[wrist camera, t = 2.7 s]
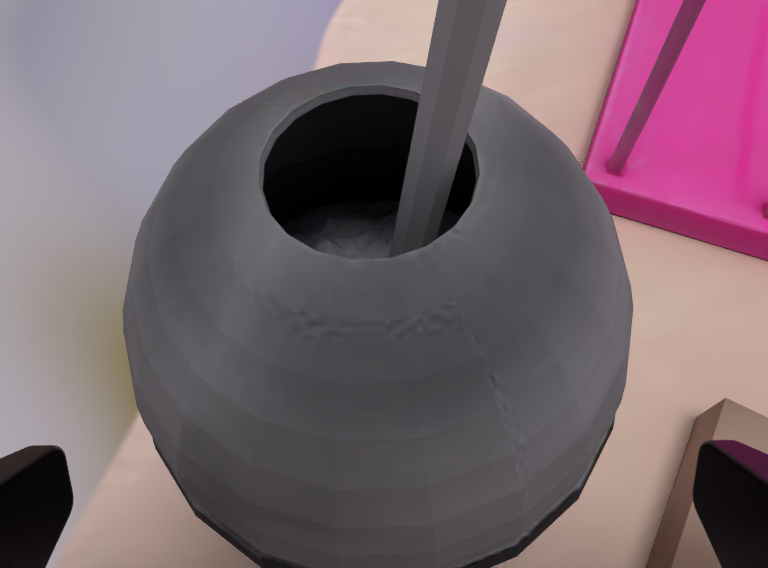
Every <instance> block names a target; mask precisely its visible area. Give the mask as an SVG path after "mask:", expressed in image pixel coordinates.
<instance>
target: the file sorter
mask: <svg viewBox="0 0 768 568" xmlns="http://www.w3.org/2000/svg"><path fill="white" fill-rule="evenodd" d="M583 170H584V171H585V173H586V174H587V176H588V177H589V179H590V180H591V182H592V183H593V185H594V186H595V188H596V189H597V191H598V192H599V194H600V195H601V197H602V198H603V200H604V202H605V204H606V206H607V208H608V210H609V212H610V213H612V214H615V215H619V216H622V217H626V218H629V219H632V220H636V221H639V222H642V223H646V224H649V225H652V226H656V227H659V228H663V229H666V230H669V231H673V232H676V233H679V234H683V235H686V236H689V237H692V238H696V239H699V240H702V241H705V242H709V243H712V244H715V245H718V246H722V247H725V248H728V249H732V250H735V251H739V252H742V253H745V254H749V255H752V256H756V257H759V258H762V259H765V260H768V0H637V1H636V4H635V7H634V10H633V13H632V17H631V20H630V23H629V26H628V29H627V32H626V35H625V38H624V42H623V45H622V48H621V51H620V54H619V57H618V60H617V63H616V66H615V70H614V73H613V76H612V79H611V82H610V85H609V88H608V91H607V94H606V97H605V100H604V103H603V106H602V110H601V113H600V116H599V119H598V122H597V125H596V128H595V131H594V135H593V138H592V141H591V144H590V147H589V150H588V153H587V156H586V160H585V163H584V166H583Z"/></svg>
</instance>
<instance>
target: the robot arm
mask: <svg viewBox="0 0 768 568" xmlns="http://www.w3.org/2000/svg"><path fill="white" fill-rule="evenodd" d="M692 497H693V503H694V507H695V510H696V512H697V514H698V516H699V519H700V521H701V523H702V525H703V528H704V530H705V532H706V534H707V537H708V539H709V541H710V543H711V545H712V548H713V550H714V552H715V554H716V557H717V559H718V561H719V563H720V565H721V568H768V454H766V453H764V452H762V451H759V450H757V449H755V448H752V447H750V446H748V445H745V444H743V443H741V442H738V441H736V440H706V441H704V442H703V443H702V444H701V446H700V447H699V451H698V457H697V463H696V470H695V476H694V483H693V491H692ZM72 507H73V491H72V486H71V481H70V476H69V471H68V466H67V461H66V456H65V453H64V451H63V450H62V449H61V448H60V447H59V446H53V445H48V446H47V445H46V446H45V445H43V446H29V447H26V448H24V449H21V450H19V451H17V452H14V453H12V454H10V455H7V456H5V457H3V458H0V568H45V567H46V565H47V563H48V561H49V559H50V557H51V555H52V552H53V550H54V548H55V546H56V543H57V541H58V539H59V537H60V535H61V533H62V531H63V529H64V527H65V524H66V522H67V520H68V518H69V516H70V513H71V510H72Z"/></svg>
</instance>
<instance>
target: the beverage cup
mask: <svg viewBox="0 0 768 568" xmlns="http://www.w3.org/2000/svg"><path fill="white" fill-rule="evenodd" d="M506 1H507V0H439V2H438V7H437V12H436V17H435V22H434V28H433V33H432V38H431V43H430V48H429V53H428V59H427V64H426V67H422V66H417V65H411V64H406V63H400V62H394V61H386V62H364V63H341V64H336V65H333V66H329V67H325V68H322V69H318V70H315V71H311V72H307V73H304V74H300V75H296V76H293V77H289V78H286V79H284V80H281V81H279V82H277V83H275V84H274V85H272V86H270V87H268V88H266V89H264V90H263V91H261V92H259V93H257V94H255V95H254V96H252V97H250V98H248V99H246V100H244V101H243V102H241V103H239V104H237V105H235V106H234V107H232V108H230V109H228V110H227V111H226V112H225V113H224V114H223V115H222V116H221V117H220V118H219V119H218V120H217V121H216V122H215V123H213V124H212V125H211V126H210V127H209V128H208V129H207V130H206V131H205V132H204V133H203V134H202V135H201V136H200V137H199V138H198V139H197V140H196V141H195V142H194V143H193V144H192V145H191V146H190V147H188V149H186V150H185V152H184V153H183V154H182V155H181V157H180V158H179V159H178V160H177V161H176V163H175V164H174V165H173V167H172V169H171V171H170V172H169V174H168V176H167V178H166V180H165V181H164V183H163V185H162V187H161V188H160V190H159V192H158V194H157V195H156V197H155V199H154V201H153V202H152V204H151V206H150V208H149V209H148V211H147V213H146V215H145V217H144V218H143V220H142V223H141V226H140V229H139V232H138V235H137V238H136V241H135V247H134V252H133V258H132V264H131V269H130V274H129V280H128V285H127V290H126V295H125V301H124V306H123V327H124V328H123V329H124V336H125V342H126V348H127V354H128V359H129V365H130V371H131V376H132V382H133V387H134V393H135V399H136V405H137V407H138V410H139V412H140V414H141V417H142V419H143V422H144V424H145V425H146V427H147V429H148V430H149V432H150V434H151V435H152V438H153V441H154V444H155V448H156V450H157V452H158V453H159V455H160V457H161V458H162V460H163V462H164V463H165V465H166V467H167V468H168V470H169V472H170V473H171V475H172V477H173V478H174V480H175V482H176V483H177V485H178V487H179V488H180V490H181V492H182V493H183V495H184V497H185V498H186V500H187V502H188V503H189V505H190V507H191V508H192V510H193V512H194V513H195V515H196V516H197V517H198V518H199V519H201V520H202V521H203V522H204V523H206V524H207V525H208V526H209V527H211V528H212V529H213V530H214V531H216V532H217V533H218V534H220V535H221V536H222V537H223V538H225V539H226V540H227V541H228V542H230V543H231V544H232V545H233V546H235V547H236V548H237V549H238V550H240V551H241V552H242V553H244V554H245V555H246V556H247V557H249V558H250V559H251V560H252V561H254V562H255V563H256V564H257V565H259V566H260V567H261V568H490V567H493V566H495V565H498V564H500V563H502V562H505V561H507V560H510V559H512V558H514V557H517V556H518V555H519V554H520V553H521V552H522V551H523V550H524V549H525V548H526V547H527V546H529V545H530V544H531V543H532V542H533V541H534V540H535V539H536V538H537V537H538V536H539V535H540V534H541V533H542V532H543V531H545V530H546V529H547V528H548V527H549V526H550V525H551V524H552V523H553V522H554V521H555V520H556V519H557V518H558V517H560V516H561V515H562V514H563V513H564V512H565V511H566V510H567V509H568V508H569V507H570V506H571V505H572V504H573V503H574V502H576V501H577V500H578V498H579V496H580V494H581V492H582V490H583V488H584V486H585V484H586V482H587V480H588V478H589V476H590V474H591V472H592V470H593V468H594V466H595V464H596V462H597V460H598V458H599V456H600V454H601V452H602V450H603V448H604V446H605V444H606V442H607V440H608V438H609V436H610V434H611V432H612V430H613V425H614V420H615V413H616V411H617V409H618V407H619V405H620V403H621V400H622V396H623V392H624V388H625V384H626V376H627V366H628V356H629V346H630V335H631V325H632V315H633V302H632V293H631V285H630V281H629V278H628V274H627V270H626V266H625V263H624V259H623V255H622V251H621V247H620V244H619V240H618V236H617V232H616V228H615V225H614V221H613V218H612V216H611V214H610V212H609V210H608V208H607V206H606V204H605V202H604V200H603V198H602V197H601V195H600V194H599V192H598V191H597V189H596V188H595V186H594V185H593V183H592V182H591V180H590V179H589V177H588V176H587V174H586V173H585V171H584V170H583V168H582V167H581V165H580V164H579V163H578V161H577V160H576V158H575V157H574V155H573V154H572V152H571V151H570V149H569V148H568V147H567V146H566V145H565V144H564V143H563V142H562V141H561V140H560V139H559V138H558V137H557V136H556V135H555V134H554V133H553V132H551V131H550V130H549V129H548V128H546V127H545V126H544V125H543V124H541V123H540V122H539V121H538V120H536V119H535V118H534V117H533V116H532V115H530V114H529V113H528V112H527V111H525V110H524V109H523V108H522V107H520V106H519V105H518V104H517V103H515V102H514V101H513V100H512V99H511V98H509V97H508V96H505V95H503V94H501V93H499V92H496V91H494V90H492V89H490V88H487V87H485V86H483V85H482V82H483V79H484V75H485V72H486V69H487V65H488V62H489V59H490V55H491V52H492V48H493V45H494V42H495V38H496V35H497V32H498V28H499V25H500V21H501V18H502V15H503V11H504V8H505V5H506Z"/></svg>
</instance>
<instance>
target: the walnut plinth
mask: <svg viewBox="0 0 768 568" xmlns="http://www.w3.org/2000/svg"><path fill="white" fill-rule="evenodd" d="M706 440H736V441H738V442H741V443H743V444H745V445H748V446H750V447H752V448H755V449H757V450H759V451H762V452H764V453H766V454H768V418H767V417H765V416H763V415H761V414H759V413H756V412H754V411H752V410H750V409H748V408H746V407H744V406H742V405H739V404H737V403H735V402H733V401H731V400H729V399H727V398H725V399H723V400H722V401H720V402H719V403H717V404H716V405H714V406H713V407H711V408H710V409H708V410H707V411H705V412H704V413H702V414H701V415H699V416H698V417H697V419H696V422H695V425H694V428H693V431H692V434H691V437H690V440H689V442H688V445H687V448H686V451H685V454H684V457H683V460H682V463H681V466H680V469H679V472H678V475H677V478H676V481H675V484H674V487H673V490H672V493H671V496H670V499H669V502H668V504H667V507H666V510H665V513H664V516H663V519H662V522H661V525H660V528H659V531H658V534H657V537H656V540H655V543H654V546H653V549H652V552H651V555H650V558H649V561H648V564H647V566H646V568H721V565H720V563H719V561H718V559H717V557H716V554H715V552H714V550H713V548H712V545H711V543H710V541H709V539H708V537H707V534H706V532H705V530H704V528H703V525H702V523H701V521H700V519H699V516H698V514H697V512H696V510H695V507H694V503H693V497H692V491H693V483H694V476H695V470H696V463H697V457H698V451H699V447H700V446H701V444H702V443H703V442H704V441H706Z"/></svg>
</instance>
